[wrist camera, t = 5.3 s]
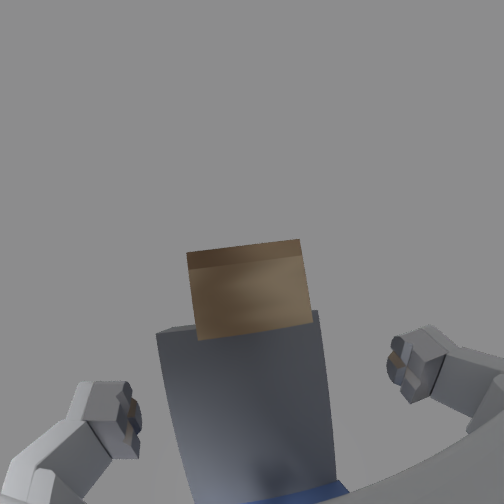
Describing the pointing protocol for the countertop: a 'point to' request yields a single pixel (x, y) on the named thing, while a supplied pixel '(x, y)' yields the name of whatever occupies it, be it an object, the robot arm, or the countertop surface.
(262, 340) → the l-shaped step block
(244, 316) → the slide box
